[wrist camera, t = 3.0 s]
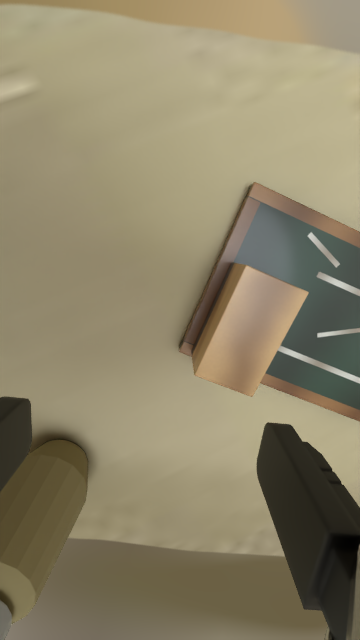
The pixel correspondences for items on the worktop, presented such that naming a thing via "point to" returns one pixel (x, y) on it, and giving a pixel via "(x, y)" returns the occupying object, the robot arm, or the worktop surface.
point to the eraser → (245, 328)
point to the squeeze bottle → (37, 523)
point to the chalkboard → (319, 306)
